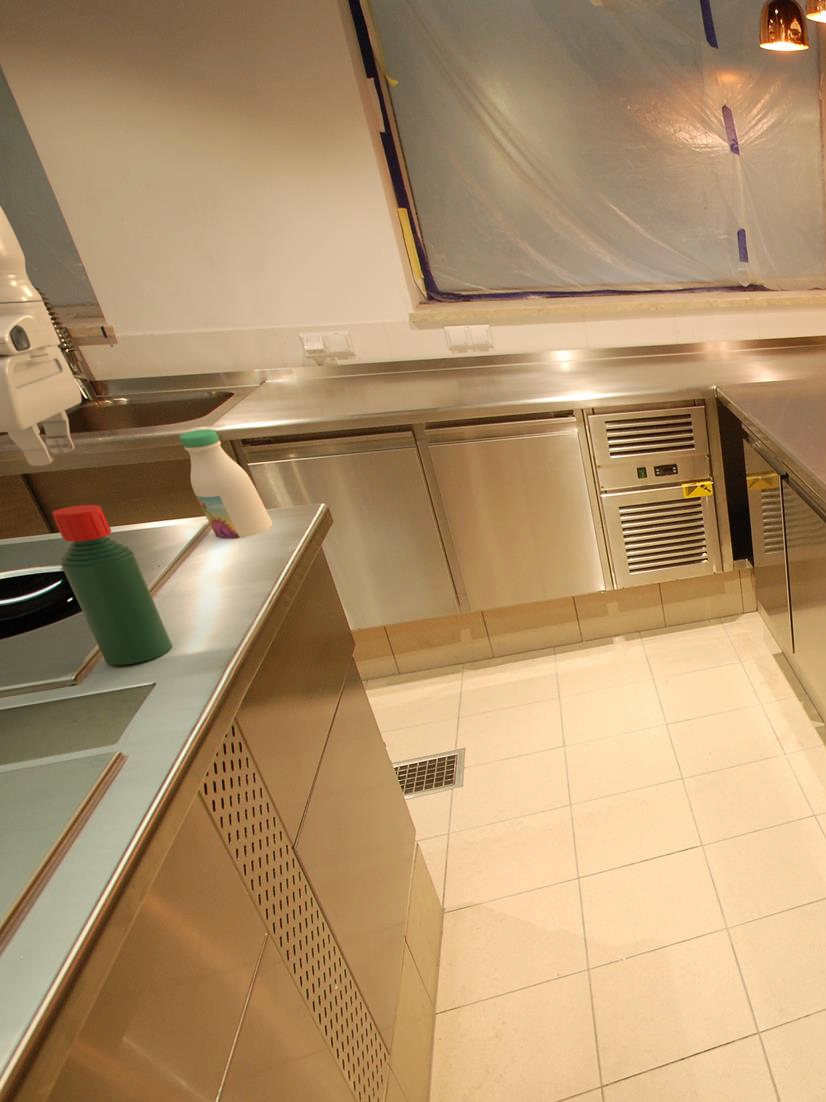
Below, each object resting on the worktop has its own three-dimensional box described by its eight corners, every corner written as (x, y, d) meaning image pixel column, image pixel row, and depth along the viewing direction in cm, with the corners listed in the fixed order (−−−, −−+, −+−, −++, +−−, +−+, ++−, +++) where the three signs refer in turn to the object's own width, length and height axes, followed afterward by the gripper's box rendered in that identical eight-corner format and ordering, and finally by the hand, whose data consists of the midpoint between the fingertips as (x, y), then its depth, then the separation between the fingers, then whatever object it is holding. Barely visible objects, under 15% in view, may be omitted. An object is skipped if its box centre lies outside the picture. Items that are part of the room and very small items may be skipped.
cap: (58, 543, 98) (46, 516, 96) (70, 533, 101) (59, 507, 99) (105, 538, 99) (94, 511, 98) (115, 529, 103) (104, 503, 101)
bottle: (98, 669, 103) (30, 524, 95) (114, 648, 108) (51, 509, 100) (165, 658, 106) (105, 517, 98) (178, 639, 111) (121, 503, 103)
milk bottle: (276, 534, 147) (222, 422, 136) (285, 547, 142) (231, 432, 132) (222, 548, 142) (162, 433, 132) (229, 562, 138) (168, 444, 127)
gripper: (-4, 323, 97) (49, 442, 103) (-91, 340, 81) (-23, 481, 87) (69, 322, 100) (117, 438, 106) (-1, 338, 84) (60, 474, 90)
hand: (53, 458), depth 96 cm, fingers open, 5 cm apart
